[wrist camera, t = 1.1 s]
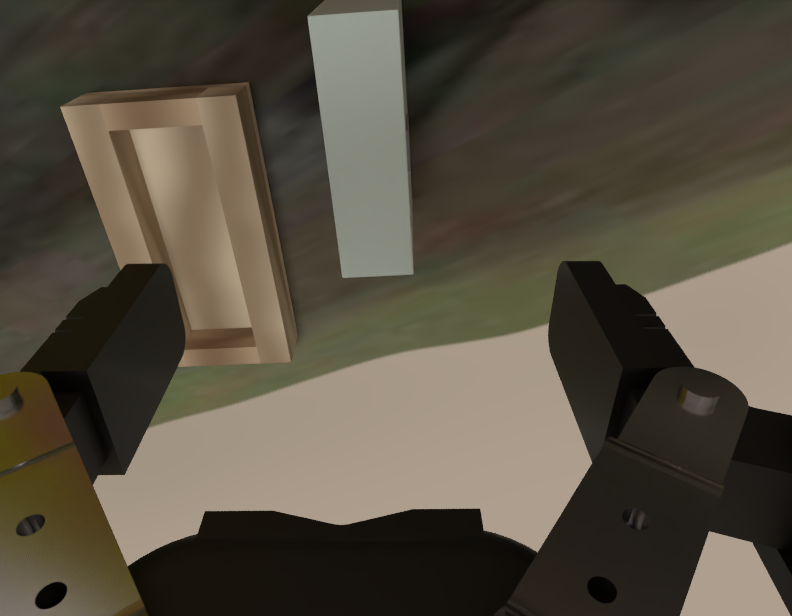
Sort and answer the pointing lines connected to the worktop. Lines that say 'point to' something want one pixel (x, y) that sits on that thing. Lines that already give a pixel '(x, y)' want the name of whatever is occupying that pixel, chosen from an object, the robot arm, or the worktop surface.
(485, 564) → the robot arm
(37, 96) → the worktop surface
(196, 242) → the track
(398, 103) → the door panel
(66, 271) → the worktop surface
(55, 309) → the worktop surface
